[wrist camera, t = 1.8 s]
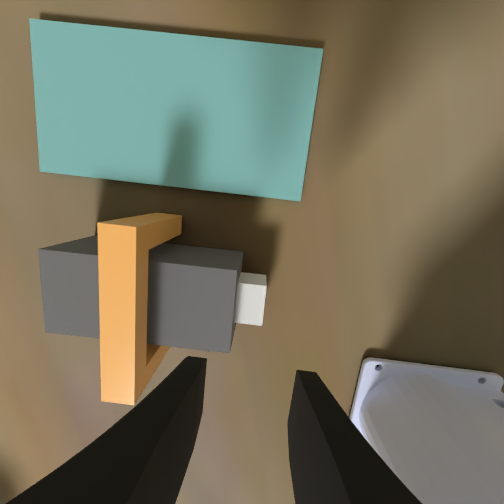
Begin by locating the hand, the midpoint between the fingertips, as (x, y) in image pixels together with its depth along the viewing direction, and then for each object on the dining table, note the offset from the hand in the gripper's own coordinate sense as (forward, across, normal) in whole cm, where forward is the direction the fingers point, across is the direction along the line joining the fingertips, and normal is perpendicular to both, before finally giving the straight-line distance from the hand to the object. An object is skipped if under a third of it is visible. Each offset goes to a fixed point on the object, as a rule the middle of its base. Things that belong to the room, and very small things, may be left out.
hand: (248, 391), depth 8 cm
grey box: (+10, +6, 0) cm, 11 cm away
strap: (+9, +6, 0) cm, 11 cm away
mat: (+9, +6, -10) cm, 15 cm away
